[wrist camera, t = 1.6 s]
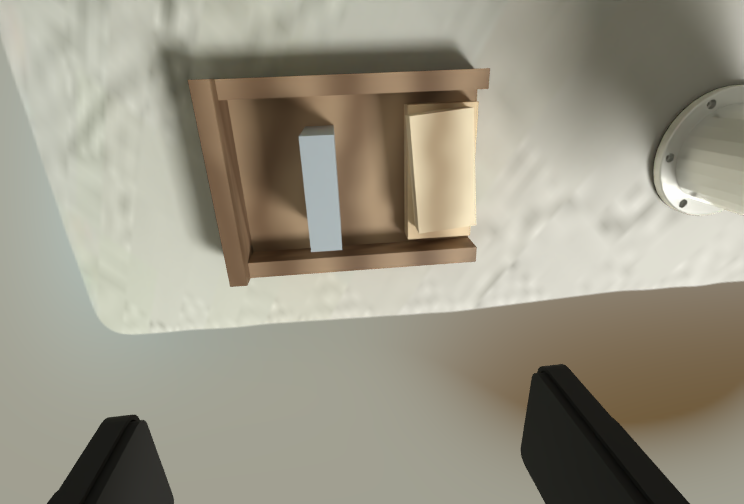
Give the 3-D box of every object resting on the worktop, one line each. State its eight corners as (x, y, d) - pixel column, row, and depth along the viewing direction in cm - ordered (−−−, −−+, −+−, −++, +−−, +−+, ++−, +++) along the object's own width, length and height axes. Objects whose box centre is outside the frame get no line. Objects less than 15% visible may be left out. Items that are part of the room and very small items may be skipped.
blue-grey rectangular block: (333, 125, 35) (333, 134, 28) (340, 221, 38) (342, 250, 32) (305, 126, 34) (298, 136, 28) (314, 223, 38) (311, 252, 32)
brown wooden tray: (475, 69, 35) (497, 67, 30) (464, 247, 41) (480, 268, 37) (207, 80, 33) (187, 79, 28) (242, 263, 40) (230, 286, 35)
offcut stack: (471, 100, 35) (487, 102, 31) (463, 228, 40) (476, 243, 36) (401, 103, 34) (409, 106, 31) (402, 232, 39) (409, 247, 35)
